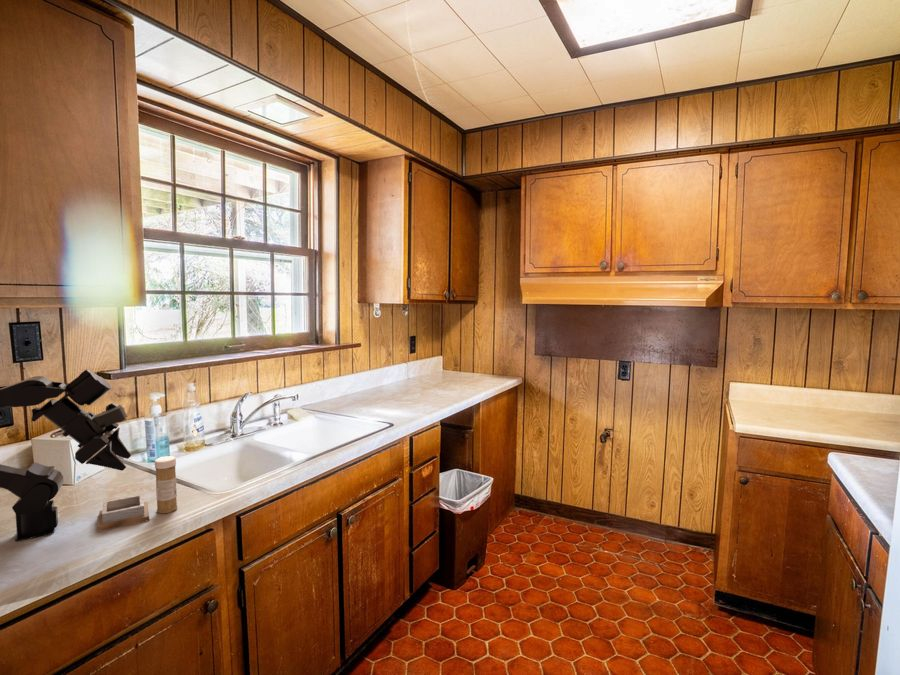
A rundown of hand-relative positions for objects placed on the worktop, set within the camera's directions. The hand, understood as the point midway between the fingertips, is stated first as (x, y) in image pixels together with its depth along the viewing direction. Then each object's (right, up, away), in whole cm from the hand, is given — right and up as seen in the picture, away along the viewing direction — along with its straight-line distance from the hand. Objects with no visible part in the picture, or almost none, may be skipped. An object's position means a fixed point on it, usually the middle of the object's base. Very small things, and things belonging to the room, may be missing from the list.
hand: (127, 462), depth 116 cm
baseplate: (-1, -13, 0) cm, 13 cm away
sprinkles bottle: (+7, -13, +5) cm, 16 cm away
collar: (-1, -13, 0) cm, 13 cm away
